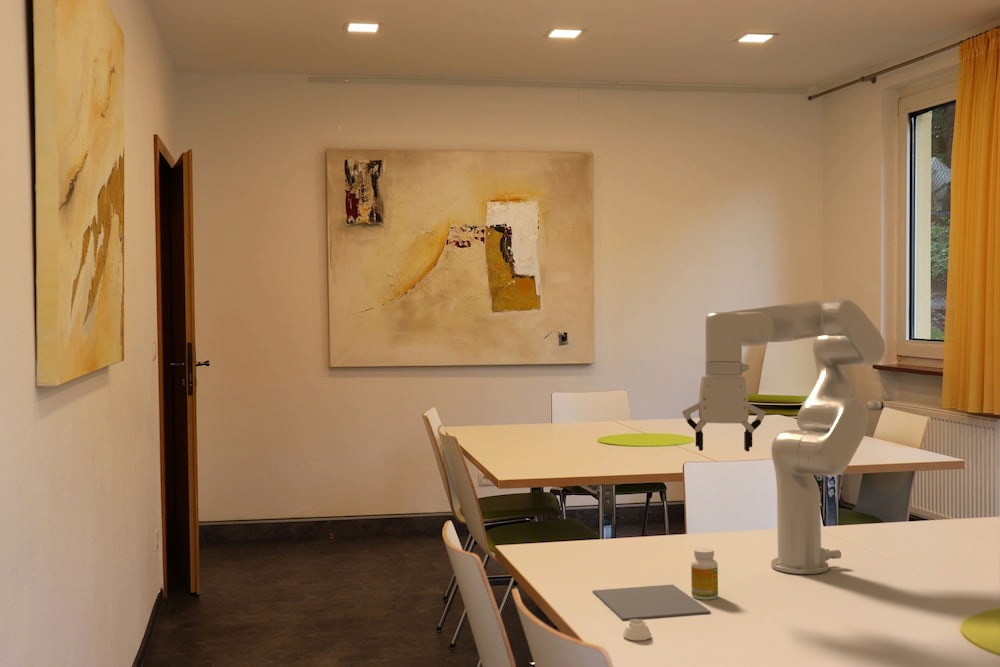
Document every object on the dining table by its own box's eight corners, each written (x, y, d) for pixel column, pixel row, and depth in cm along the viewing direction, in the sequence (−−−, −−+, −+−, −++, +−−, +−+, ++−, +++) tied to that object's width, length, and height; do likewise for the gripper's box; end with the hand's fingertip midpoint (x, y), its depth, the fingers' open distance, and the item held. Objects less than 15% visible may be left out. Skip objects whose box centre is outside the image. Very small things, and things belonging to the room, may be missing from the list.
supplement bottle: (718, 600, 194) (717, 553, 194) (691, 599, 196) (690, 552, 195) (717, 593, 200) (717, 547, 200) (691, 592, 201) (690, 546, 201)
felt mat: (672, 586, 206) (672, 584, 206) (710, 613, 186) (710, 611, 186) (592, 592, 202) (592, 590, 202) (622, 620, 183) (622, 618, 183)
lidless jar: (653, 642, 170) (648, 633, 175) (653, 625, 170) (647, 617, 175) (625, 643, 170) (621, 634, 175) (625, 626, 170) (620, 618, 175)
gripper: (762, 369, 206) (762, 449, 206) (681, 369, 208) (681, 447, 208) (767, 370, 198) (768, 453, 198) (683, 370, 201) (683, 451, 201)
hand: (723, 450), depth 203 cm, fingers open, 9 cm apart
